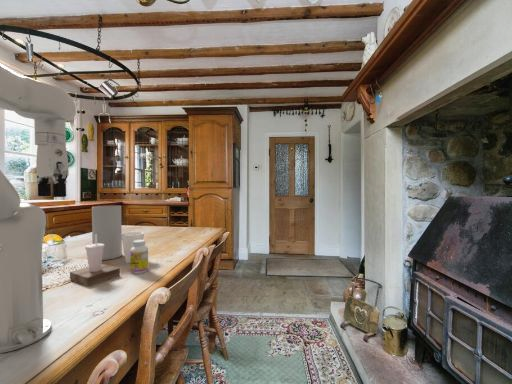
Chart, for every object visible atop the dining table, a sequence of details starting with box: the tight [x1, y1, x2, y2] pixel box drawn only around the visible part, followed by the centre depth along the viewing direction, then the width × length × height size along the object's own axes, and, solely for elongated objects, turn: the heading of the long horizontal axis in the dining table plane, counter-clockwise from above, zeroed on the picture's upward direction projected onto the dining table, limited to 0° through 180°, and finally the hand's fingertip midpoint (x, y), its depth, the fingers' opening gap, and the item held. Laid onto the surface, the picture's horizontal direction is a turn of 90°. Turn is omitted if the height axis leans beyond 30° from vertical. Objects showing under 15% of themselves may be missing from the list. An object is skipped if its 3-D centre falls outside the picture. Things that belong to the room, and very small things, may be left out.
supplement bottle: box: [130, 239, 149, 275], centre depth 107 cm, size 7×7×13 cm
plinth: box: [69, 263, 121, 287], centre depth 100 cm, size 12×12×3 cm
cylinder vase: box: [91, 205, 123, 261], centre depth 128 cm, size 12×12×25 cm
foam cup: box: [121, 231, 145, 264], centre depth 121 cm, size 10×9×13 cm
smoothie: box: [84, 234, 105, 272], centre depth 99 cm, size 6×6×14 cm
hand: (51, 196), depth 80 cm, fingers open, 9 cm apart
